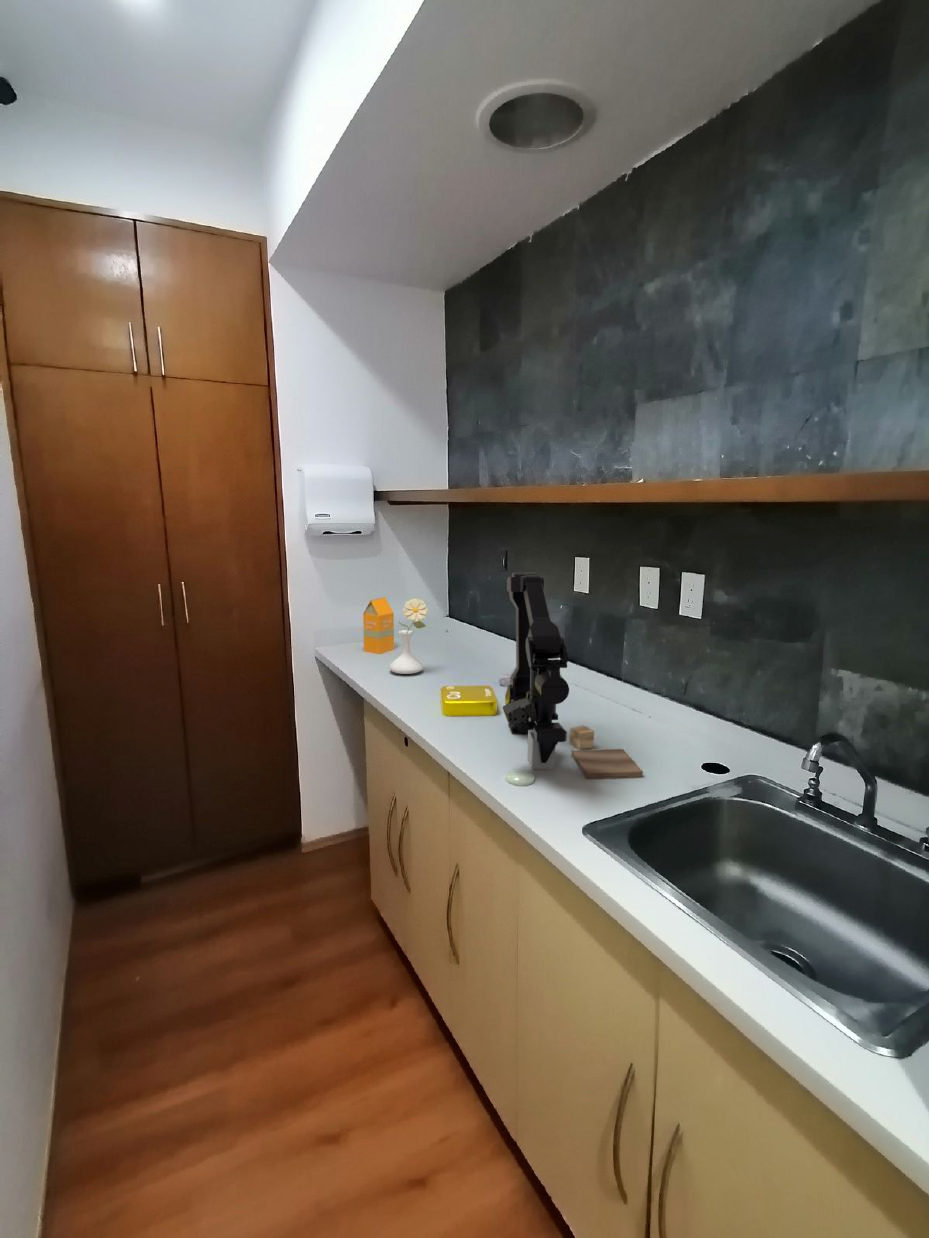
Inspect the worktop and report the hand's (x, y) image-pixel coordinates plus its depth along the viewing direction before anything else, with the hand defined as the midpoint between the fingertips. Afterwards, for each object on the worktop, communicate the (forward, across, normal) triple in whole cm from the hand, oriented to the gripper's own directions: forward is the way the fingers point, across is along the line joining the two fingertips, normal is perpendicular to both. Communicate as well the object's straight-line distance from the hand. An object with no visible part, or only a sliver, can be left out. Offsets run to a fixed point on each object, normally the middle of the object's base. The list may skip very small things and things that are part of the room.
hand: (540, 757), depth 137 cm
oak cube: (+2, -10, +12) cm, 16 cm away
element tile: (+2, -40, -12) cm, 41 cm away
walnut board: (+2, +2, +14) cm, 14 cm away
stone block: (+2, -60, +7) cm, 60 cm away
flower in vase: (+2, -76, -28) cm, 81 cm away
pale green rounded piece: (+2, +7, -6) cm, 9 cm away
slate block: (+2, 0, 0) cm, 2 cm away
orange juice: (+2, -107, -39) cm, 114 cm away
